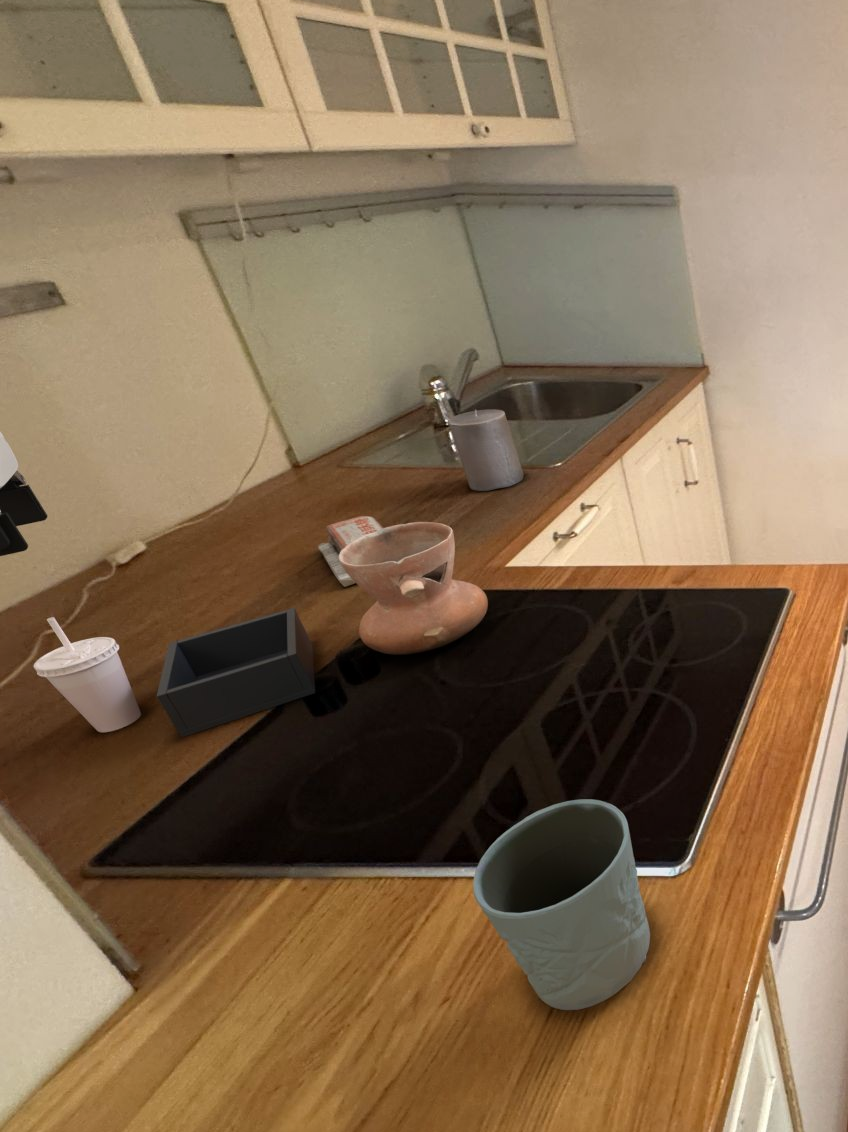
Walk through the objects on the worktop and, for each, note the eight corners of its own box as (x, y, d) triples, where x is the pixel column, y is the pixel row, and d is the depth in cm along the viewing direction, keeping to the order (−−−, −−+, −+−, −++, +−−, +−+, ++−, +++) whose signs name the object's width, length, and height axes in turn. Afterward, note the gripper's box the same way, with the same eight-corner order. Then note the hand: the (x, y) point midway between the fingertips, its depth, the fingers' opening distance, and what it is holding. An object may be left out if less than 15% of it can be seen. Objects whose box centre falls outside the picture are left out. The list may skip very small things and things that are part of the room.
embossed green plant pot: (670, 895, 65) (640, 790, 60) (646, 1012, 56) (608, 901, 51) (545, 914, 64) (504, 808, 59) (499, 1037, 55) (445, 925, 50)
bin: (181, 737, 86) (156, 696, 83) (191, 681, 95) (168, 642, 93) (315, 693, 92) (296, 653, 90) (312, 644, 102) (294, 607, 100)
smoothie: (136, 699, 92) (74, 600, 86) (169, 709, 90) (108, 608, 84) (66, 733, 87) (-5, 630, 81) (100, 745, 85) (29, 640, 79)
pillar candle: (496, 471, 159) (474, 401, 152) (535, 475, 156) (514, 403, 150) (457, 489, 150) (432, 416, 144) (498, 493, 148) (474, 419, 141)
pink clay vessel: (504, 642, 101) (471, 547, 95) (372, 686, 93) (326, 585, 87) (482, 589, 114) (451, 502, 108) (364, 624, 106) (324, 532, 100)
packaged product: (308, 527, 125) (380, 507, 131) (320, 553, 127) (390, 533, 133) (330, 561, 113) (408, 538, 120) (343, 589, 115) (418, 565, 122)
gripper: (-118, 367, 76) (-15, 522, 83) (-190, 403, 64) (-63, 581, 71) (-6, 354, 80) (82, 503, 88) (-54, 385, 68) (53, 554, 76)
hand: (17, 538), depth 80 cm, fingers open, 9 cm apart
